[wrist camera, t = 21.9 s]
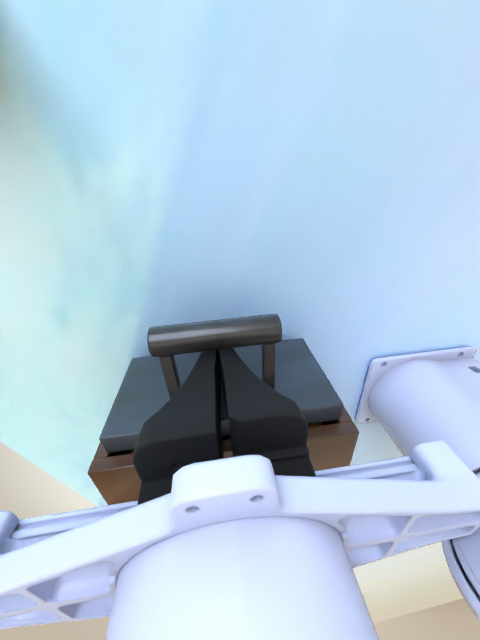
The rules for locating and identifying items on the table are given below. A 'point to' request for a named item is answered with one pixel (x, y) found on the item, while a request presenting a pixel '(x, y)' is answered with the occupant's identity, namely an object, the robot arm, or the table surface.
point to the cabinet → (323, 444)
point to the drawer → (255, 351)
